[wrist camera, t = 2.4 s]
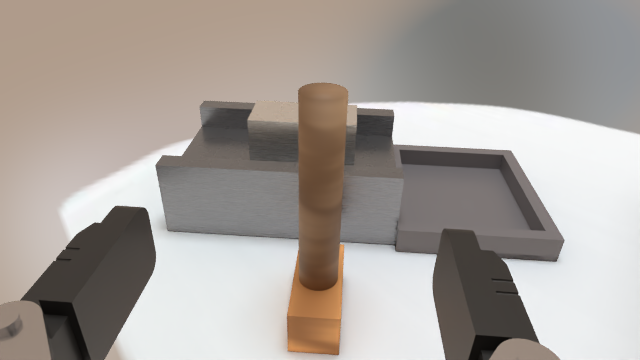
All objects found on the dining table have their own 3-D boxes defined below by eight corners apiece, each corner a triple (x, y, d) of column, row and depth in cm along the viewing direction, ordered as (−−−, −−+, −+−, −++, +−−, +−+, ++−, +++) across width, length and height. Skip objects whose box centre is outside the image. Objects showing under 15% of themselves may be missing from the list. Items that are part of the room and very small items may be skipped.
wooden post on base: (342, 277, 33) (354, 71, 25) (338, 355, 27) (353, 120, 19) (299, 274, 33) (299, 68, 25) (287, 351, 27) (282, 117, 20)
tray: (506, 168, 47) (510, 150, 46) (556, 261, 35) (564, 240, 34) (386, 161, 47) (388, 144, 46) (395, 251, 35) (398, 230, 34)
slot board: (386, 165, 47) (393, 109, 44) (395, 244, 36) (404, 178, 33) (210, 155, 48) (204, 100, 44) (167, 230, 37) (155, 165, 34)
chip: (303, 145, 41) (303, 103, 39) (298, 167, 38) (298, 122, 36) (259, 142, 42) (257, 100, 39) (250, 164, 38) (247, 120, 36)
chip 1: (354, 147, 41) (357, 105, 39) (353, 170, 38) (356, 125, 36) (309, 145, 41) (309, 103, 39) (304, 167, 38) (304, 122, 36)
